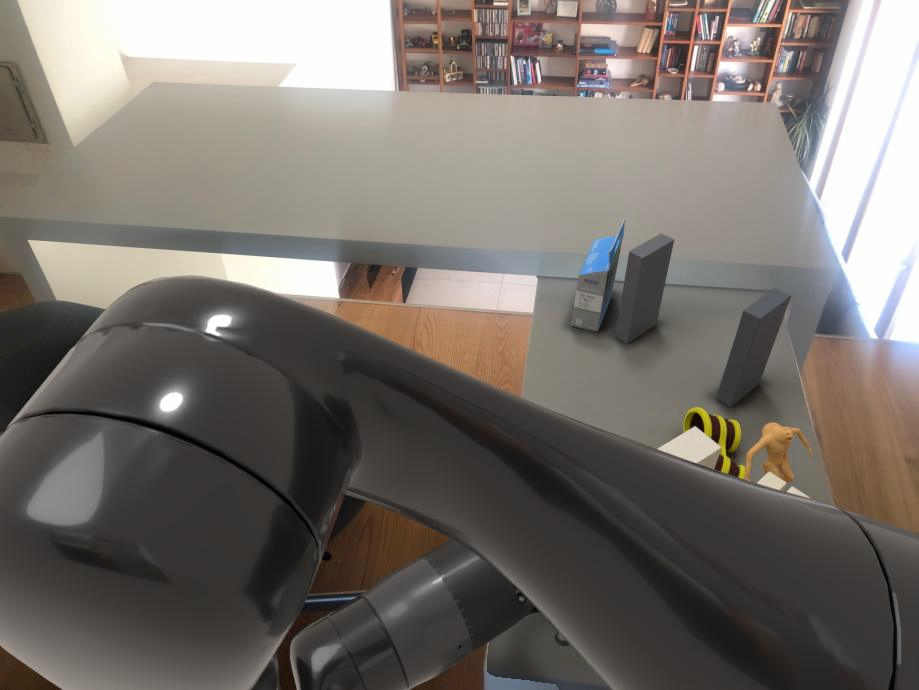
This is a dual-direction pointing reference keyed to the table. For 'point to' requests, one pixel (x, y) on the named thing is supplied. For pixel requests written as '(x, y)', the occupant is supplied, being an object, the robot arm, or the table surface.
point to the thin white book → (694, 448)
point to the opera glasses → (718, 437)
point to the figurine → (776, 450)
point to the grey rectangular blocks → (752, 332)
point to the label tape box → (596, 282)
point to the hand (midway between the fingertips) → (609, 502)
